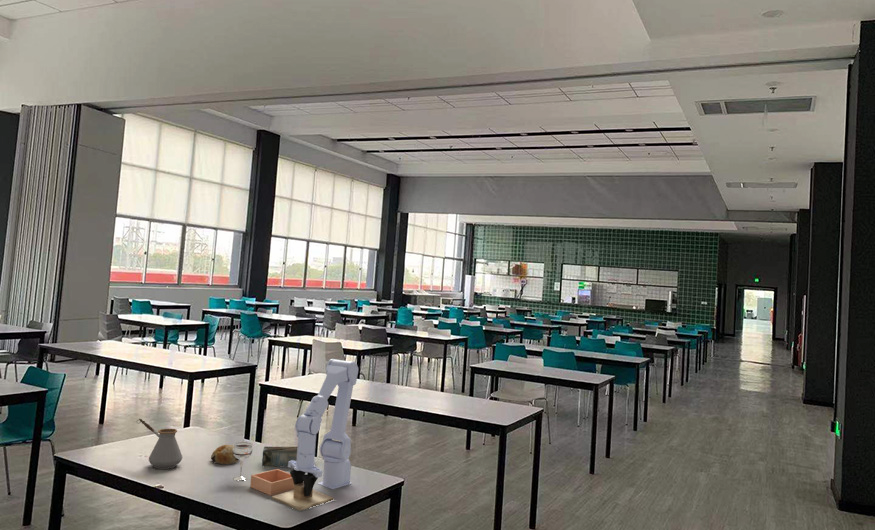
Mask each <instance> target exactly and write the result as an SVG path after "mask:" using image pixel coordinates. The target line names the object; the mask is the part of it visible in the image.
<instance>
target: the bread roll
mask: <svg viewBox="0 0 875 530" xmlns="http://www.w3.org/2000/svg"><path fill="white" fill-rule="evenodd" d="M233 448H234V445H233V444H223V445H220V446H218V447H217V448H215V449H214V450H213V451H212V454H211V456H210V460H212V462H213V463H214V462H215V463H214V464H217V463H219V465H233V464H238V462H239V461H240V459H237V458H236V457H235V456H234V455H233Z"/></svg>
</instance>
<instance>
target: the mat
mask: <svg viewBox="0 0 875 530" xmlns="http://www.w3.org/2000/svg"><path fill="white" fill-rule="evenodd" d="M267 500H270V501H271V502H274V503H276V504H279V505H282V506H283V507H285V508H287V509H288V508H289V509H291V510H293V511H296V512H298V513H302V512H304V511H309V510H310V509H309V508H307V509H303V510H297V509H295V508H293V507H290V506H288V505H286V504H283V503H281V502H279V501H276V500H274V499H272V496H271V497H268V498H267ZM324 504H325V503H324ZM319 505H320V504H319ZM325 505H326V504H325ZM292 508H293V509H292ZM315 508H318V507H317V506H316V507H315Z"/></svg>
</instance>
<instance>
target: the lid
mask: <svg viewBox="0 0 875 530" xmlns="http://www.w3.org/2000/svg"><path fill="white" fill-rule="evenodd" d="M271 497H272V499H274V500H276V501H279V502H281V503H283V504H286V505H288V506H290V507H293V508H295V509H297V510H303V509H307V508H310V507H313V506H316V505H319V504H322V503H326V502H328V501H331V500H333V499H334V497H333V496H330V495H327V494H326V493H323V492H319V491H318V490H315V489H314V488H313V489H312V492H311V495H310V496H307V497H305V496H304V481H303V483H299V484H295V485H294V489H293V490H289V491H285V492H282V493H278V494H275V495H271Z"/></svg>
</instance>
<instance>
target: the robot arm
mask: <svg viewBox="0 0 875 530" xmlns="http://www.w3.org/2000/svg"><path fill="white" fill-rule="evenodd" d="M325 374H326V376H325V377H324V381H323V383H322V385H321V387H320V390H319V392H318V394H317V395H315V396H313V397H312V398H311V401H310V403H309V404H308V406H307V407H306V410H305V411H304V413H303V414H301V415H299V416H298V417H297V420H296V421H295V424H294V426H295V427H294V428H295V431H296V438H297V447H298V448H297V461H294V460H292V461H288V467H287V468H290V469H291V468H293V469H292V470H290V471H289V473H290V474H291V476H292V479H293V482H294V485H295V484H299V483H303V482H304V496H305V497H307V496H310V495H311V492H312V489H313V490H314V486H315V484H316V482H317V480H318V478H322V481H320V482H317V484H318V485H320V486H323V487H325V488H328V489H331V490H335V489H339V488H341V487H345V486H348V485H352V482H351V472H352V471H351V469H352V465H351V460H350V459H349V457H350V456H351V453H352V447H351V444H352V439H351V437H350V436H348V434H347V433H346V430H347V423H348V420H349V419H348V418H349V413H350V405H351V400H352V395H353V389H354V386H356V384H357V382H358V381H357V380H358V374H359V366H358V364H357V362H356V361H349V360H342V359H336V358H331V359H329V361H328V362H327V364H326V368H325ZM336 387H338V388H337V393H336V398H335V399H336V400H335V405H334V411H333V415H332V422H331V429H330V431H329V432H327V433H326V434H324V435H323V438H322V441H321V442H320V446H319V453H320V456H321V457H322V460H324V462H323V470H321V469H320V468H319V467H317V466H316V465H315V456H316V444H317V443H316V442H317V434H318V433H319V431H320V430H321V426H322V421H323V416H324V413H326V410H327V408H328V406H329V401H328V399H329V398H330V396H331V394H332V393H333V391H334V390H335V389H336Z"/></svg>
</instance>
